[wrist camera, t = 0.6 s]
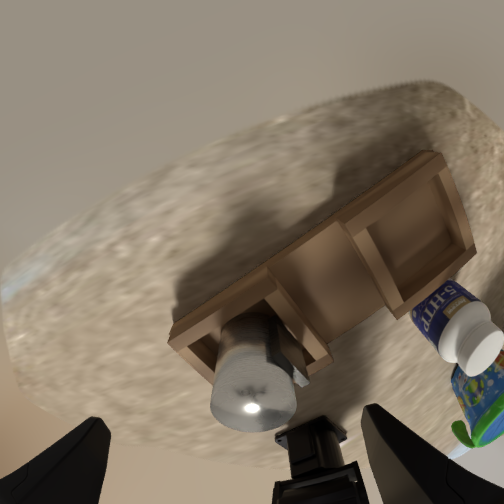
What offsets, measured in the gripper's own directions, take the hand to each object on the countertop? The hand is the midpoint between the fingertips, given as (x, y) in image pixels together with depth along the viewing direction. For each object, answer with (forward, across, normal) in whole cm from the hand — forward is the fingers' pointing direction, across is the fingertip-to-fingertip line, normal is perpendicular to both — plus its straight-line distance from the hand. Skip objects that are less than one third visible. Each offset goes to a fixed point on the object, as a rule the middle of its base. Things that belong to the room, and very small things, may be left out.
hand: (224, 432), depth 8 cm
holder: (+14, -6, +1) cm, 15 cm away
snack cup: (+14, -26, +17) cm, 34 cm away
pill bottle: (+14, -16, +5) cm, 22 cm away
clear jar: (+12, -1, +5) cm, 13 cm away
